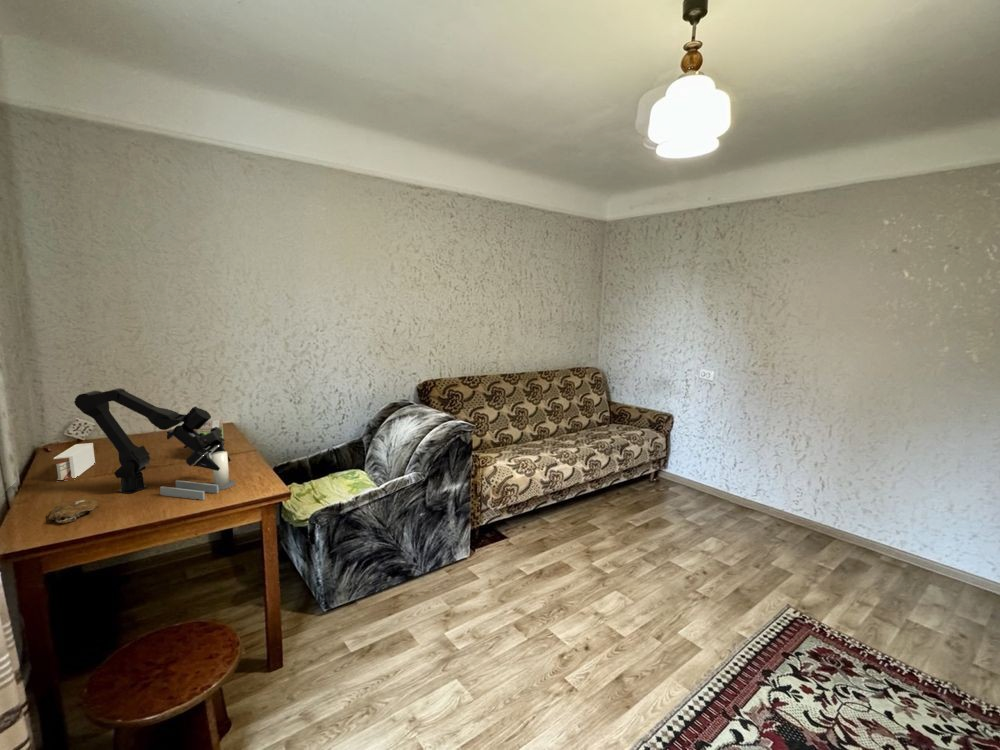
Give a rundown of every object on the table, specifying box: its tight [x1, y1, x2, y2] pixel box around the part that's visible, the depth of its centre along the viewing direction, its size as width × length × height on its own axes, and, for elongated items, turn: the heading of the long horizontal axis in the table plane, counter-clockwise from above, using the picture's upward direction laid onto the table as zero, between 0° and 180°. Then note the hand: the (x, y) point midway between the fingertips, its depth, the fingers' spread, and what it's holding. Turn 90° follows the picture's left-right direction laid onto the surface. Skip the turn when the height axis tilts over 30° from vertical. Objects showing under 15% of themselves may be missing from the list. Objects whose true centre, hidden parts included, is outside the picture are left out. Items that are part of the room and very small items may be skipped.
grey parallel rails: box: [159, 479, 220, 501], centre depth 160 cm, size 18×7×3 cm, turn 79°
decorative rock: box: [48, 499, 98, 524], centre depth 142 cm, size 11×4×15 cm
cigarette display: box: [53, 442, 96, 481], centre depth 177 cm, size 20×6×9 cm, turn 25°
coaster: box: [211, 479, 237, 491], centre depth 168 cm, size 9×9×1 cm
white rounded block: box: [211, 450, 230, 487], centre depth 167 cm, size 5×5×12 cm
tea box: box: [195, 419, 225, 460], centre depth 202 cm, size 15×10×15 cm
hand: (224, 465), depth 167 cm, fingers open, 9 cm apart
